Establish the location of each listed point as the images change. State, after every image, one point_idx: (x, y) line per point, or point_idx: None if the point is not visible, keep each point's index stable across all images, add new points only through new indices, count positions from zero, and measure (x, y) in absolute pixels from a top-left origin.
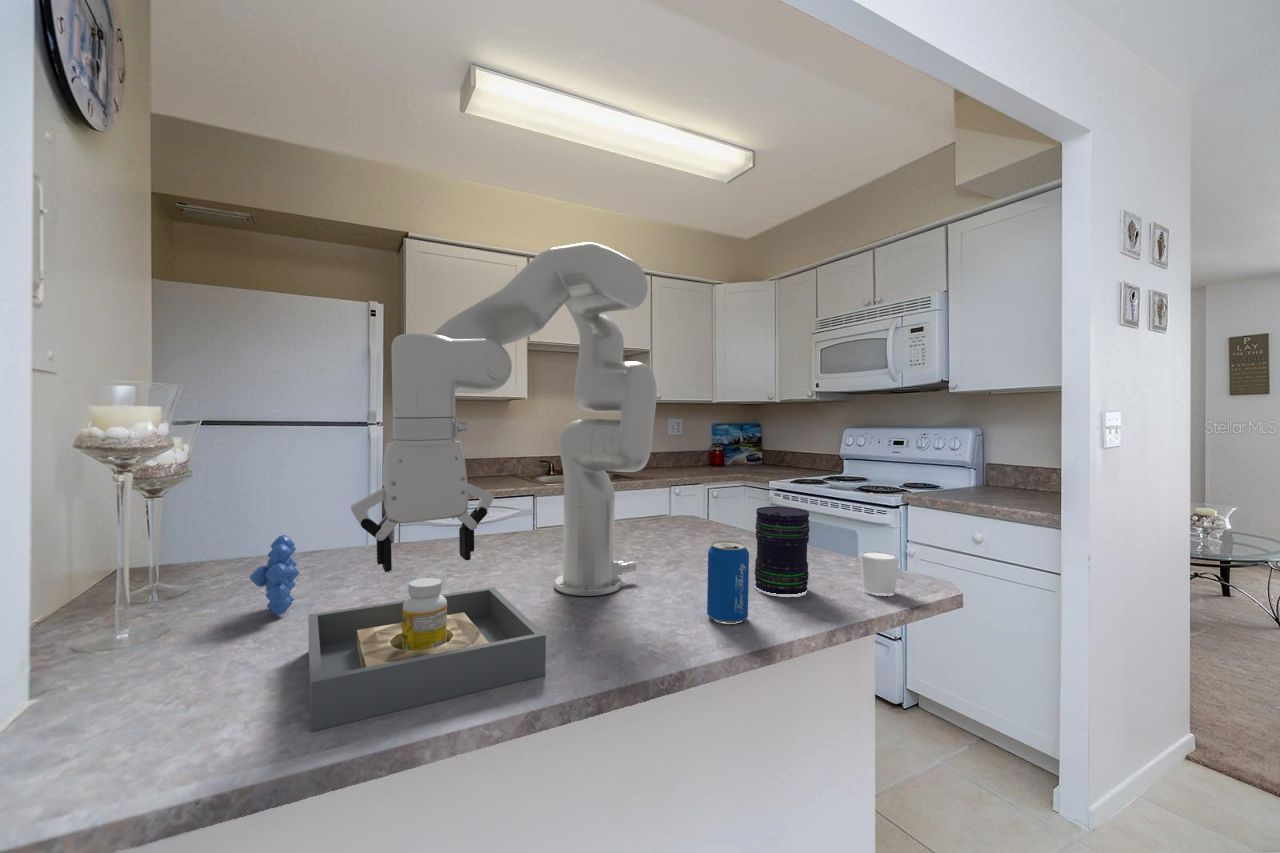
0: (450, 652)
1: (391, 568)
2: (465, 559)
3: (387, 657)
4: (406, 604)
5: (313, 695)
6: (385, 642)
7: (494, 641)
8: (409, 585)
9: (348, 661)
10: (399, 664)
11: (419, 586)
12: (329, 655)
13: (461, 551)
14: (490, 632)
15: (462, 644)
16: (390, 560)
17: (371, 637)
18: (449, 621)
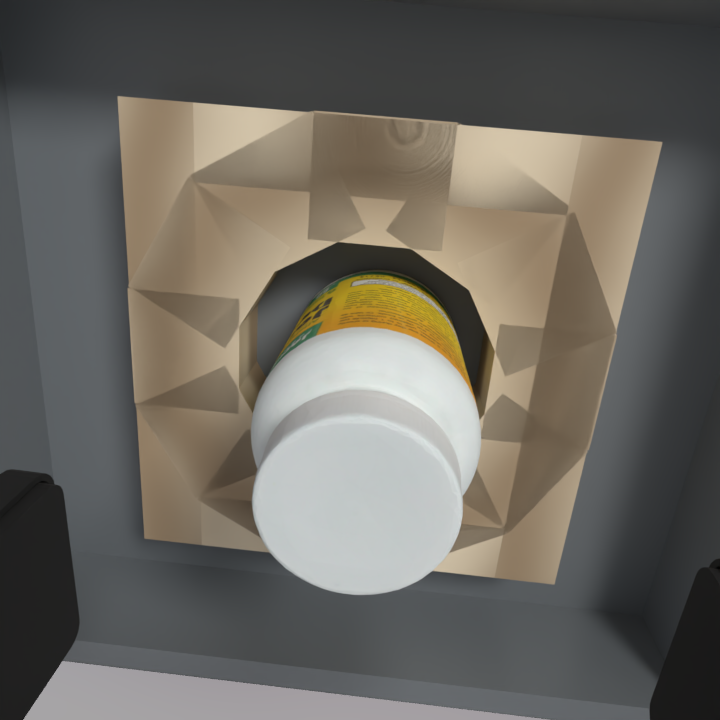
0: (369, 686)
1: (70, 644)
2: (656, 707)
3: (212, 469)
4: (259, 464)
5: None
6: (222, 330)
7: (658, 364)
8: (253, 509)
9: (120, 232)
10: (208, 676)
11: (299, 577)
12: (50, 120)
13: (703, 658)
14: (702, 260)
15: (475, 512)
16: (25, 701)
17: (174, 239)
18: (536, 240)
